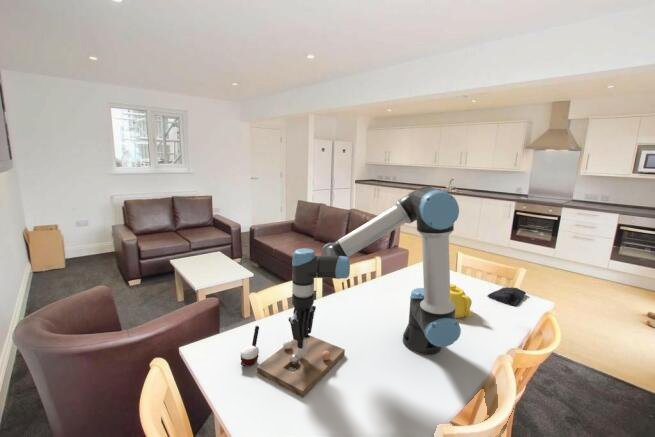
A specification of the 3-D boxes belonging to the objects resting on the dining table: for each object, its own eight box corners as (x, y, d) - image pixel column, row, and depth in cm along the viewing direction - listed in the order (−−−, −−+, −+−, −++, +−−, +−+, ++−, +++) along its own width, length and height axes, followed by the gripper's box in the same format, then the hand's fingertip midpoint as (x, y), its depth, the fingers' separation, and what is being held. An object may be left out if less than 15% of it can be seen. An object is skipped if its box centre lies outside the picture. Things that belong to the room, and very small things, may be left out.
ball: (302, 358, 111) (298, 354, 109) (297, 367, 109) (294, 363, 107) (295, 355, 112) (291, 351, 110) (290, 363, 110) (286, 360, 108)
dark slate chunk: (530, 297, 175) (531, 289, 174) (514, 308, 161) (516, 299, 160) (501, 288, 186) (502, 280, 186) (484, 297, 173) (485, 289, 172)
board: (344, 355, 119) (344, 349, 118) (302, 398, 97) (302, 391, 97) (302, 338, 129) (302, 332, 129) (256, 373, 108) (256, 366, 107)
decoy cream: (293, 347, 118) (293, 340, 118) (288, 352, 116) (288, 344, 115) (287, 345, 120) (287, 337, 120) (281, 349, 118) (281, 341, 117)
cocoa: (243, 373, 108) (241, 343, 105) (234, 363, 113) (233, 334, 110) (266, 360, 115) (265, 332, 112) (258, 352, 119) (256, 324, 116)
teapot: (416, 304, 162) (418, 279, 160) (438, 296, 172) (440, 273, 169) (459, 326, 142) (462, 298, 139) (481, 316, 152) (484, 289, 149)
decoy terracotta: (332, 358, 113) (332, 350, 112) (327, 363, 110) (327, 355, 109) (324, 355, 114) (325, 347, 114) (320, 360, 112) (320, 352, 111)
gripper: (305, 284, 115) (304, 342, 120) (282, 297, 105) (282, 359, 109) (322, 289, 111) (320, 349, 116) (299, 303, 101) (299, 368, 105)
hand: (302, 354), depth 113 cm, fingers closed
